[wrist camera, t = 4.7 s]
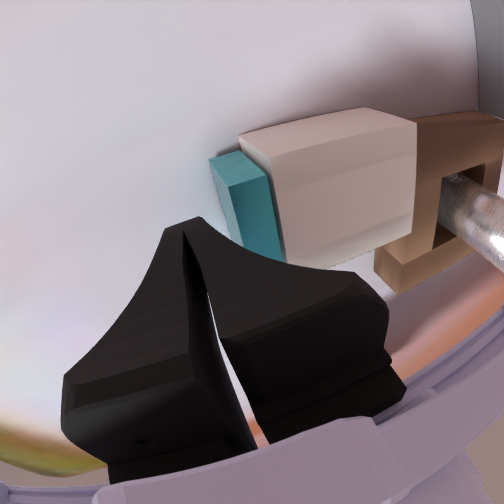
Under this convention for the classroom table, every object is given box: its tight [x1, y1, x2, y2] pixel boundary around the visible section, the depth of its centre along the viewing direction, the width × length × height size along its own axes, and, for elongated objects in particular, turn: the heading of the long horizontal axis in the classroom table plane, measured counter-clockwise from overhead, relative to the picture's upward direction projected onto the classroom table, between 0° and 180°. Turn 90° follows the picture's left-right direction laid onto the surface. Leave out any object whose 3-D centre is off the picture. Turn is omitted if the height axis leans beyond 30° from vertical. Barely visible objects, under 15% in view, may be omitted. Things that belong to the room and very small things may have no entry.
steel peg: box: [437, 172, 504, 273], centre depth 13 cm, size 3×3×8 cm
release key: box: [209, 150, 283, 262], centre depth 12 cm, size 4×7×3 cm, turn 102°
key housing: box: [238, 107, 417, 270], centre depth 12 cm, size 5×6×3 cm
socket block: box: [374, 110, 504, 295], centre depth 15 cm, size 9×9×2 cm
